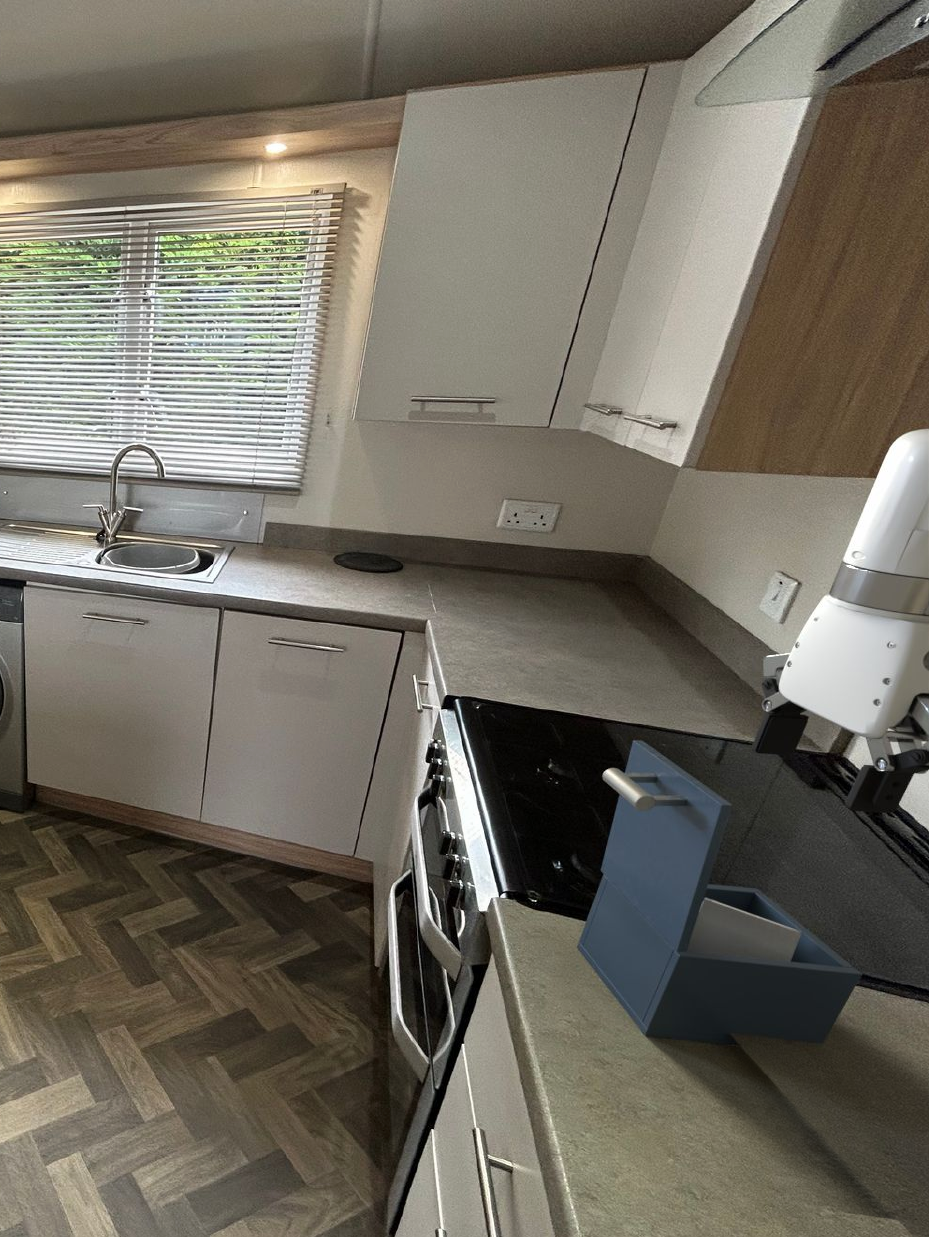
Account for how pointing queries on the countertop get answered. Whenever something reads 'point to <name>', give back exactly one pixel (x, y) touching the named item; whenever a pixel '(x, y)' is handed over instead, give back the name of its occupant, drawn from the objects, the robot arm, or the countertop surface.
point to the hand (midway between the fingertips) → (816, 779)
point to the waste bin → (714, 976)
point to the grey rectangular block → (741, 934)
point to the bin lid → (663, 841)
